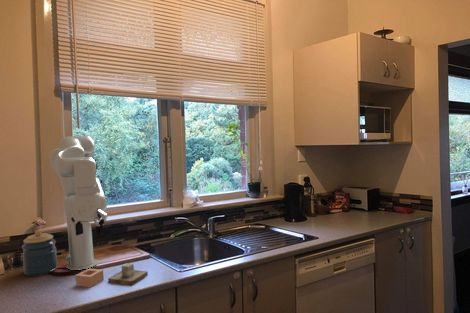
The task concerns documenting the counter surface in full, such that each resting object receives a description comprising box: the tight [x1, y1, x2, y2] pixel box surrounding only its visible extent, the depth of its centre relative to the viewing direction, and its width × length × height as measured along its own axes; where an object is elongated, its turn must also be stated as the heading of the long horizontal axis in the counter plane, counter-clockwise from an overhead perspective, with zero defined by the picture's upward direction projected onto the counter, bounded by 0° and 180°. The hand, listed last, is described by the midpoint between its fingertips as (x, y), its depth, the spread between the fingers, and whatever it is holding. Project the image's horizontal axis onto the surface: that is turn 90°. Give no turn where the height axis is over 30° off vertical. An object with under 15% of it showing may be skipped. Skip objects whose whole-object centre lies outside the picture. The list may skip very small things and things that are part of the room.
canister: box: [21, 230, 59, 277], centre depth 157 cm, size 13×13×18 cm
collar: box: [75, 268, 105, 288], centre depth 141 cm, size 7×7×4 cm
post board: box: [107, 262, 149, 286], centre depth 144 cm, size 11×10×6 cm
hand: (89, 235), depth 141 cm, fingers open, 9 cm apart
